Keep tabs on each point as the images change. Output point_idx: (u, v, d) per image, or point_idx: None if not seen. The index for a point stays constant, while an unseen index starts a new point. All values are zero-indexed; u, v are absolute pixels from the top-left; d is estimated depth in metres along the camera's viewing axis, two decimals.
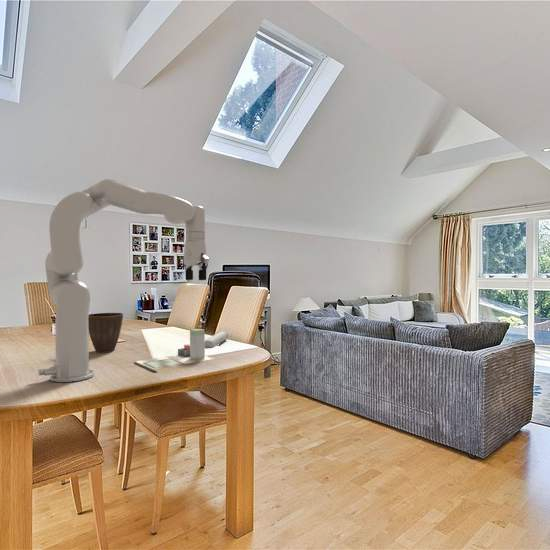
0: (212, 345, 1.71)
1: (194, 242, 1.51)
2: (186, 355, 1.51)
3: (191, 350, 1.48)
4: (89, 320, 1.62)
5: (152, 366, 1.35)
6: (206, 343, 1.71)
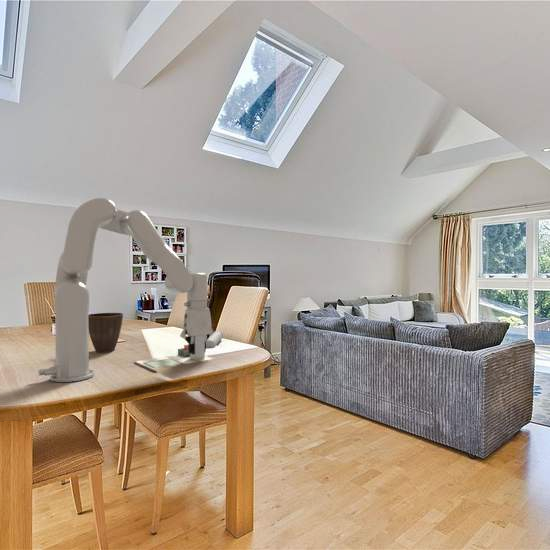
0: (214, 345, 1.71)
1: (207, 311, 1.48)
2: (186, 355, 1.51)
3: None
4: (89, 320, 1.62)
5: (152, 366, 1.35)
6: (208, 343, 1.71)
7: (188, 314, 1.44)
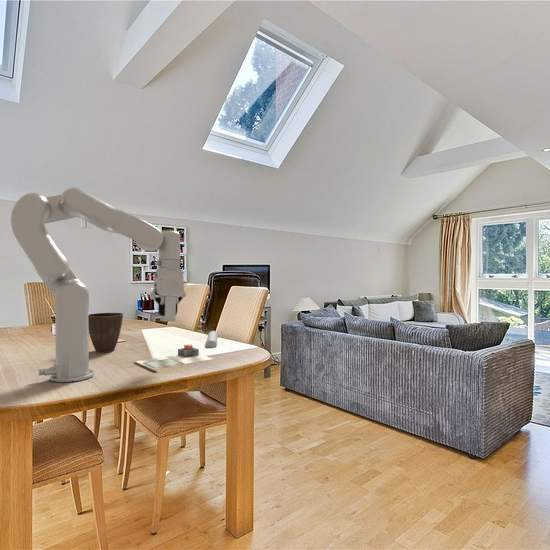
0: (215, 345, 1.72)
1: (179, 272, 1.42)
2: (186, 355, 1.51)
3: None
4: (89, 320, 1.62)
5: (152, 366, 1.35)
6: (209, 343, 1.71)
7: (158, 273, 1.37)
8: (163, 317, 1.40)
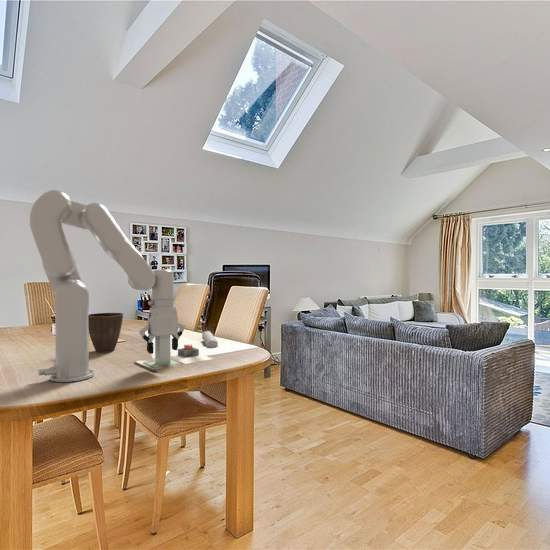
0: (217, 345, 1.72)
1: (173, 310, 1.40)
2: (186, 355, 1.51)
3: (156, 354, 1.40)
4: (89, 320, 1.62)
5: (152, 366, 1.35)
6: (211, 343, 1.71)
7: (152, 313, 1.36)
8: (158, 360, 1.38)
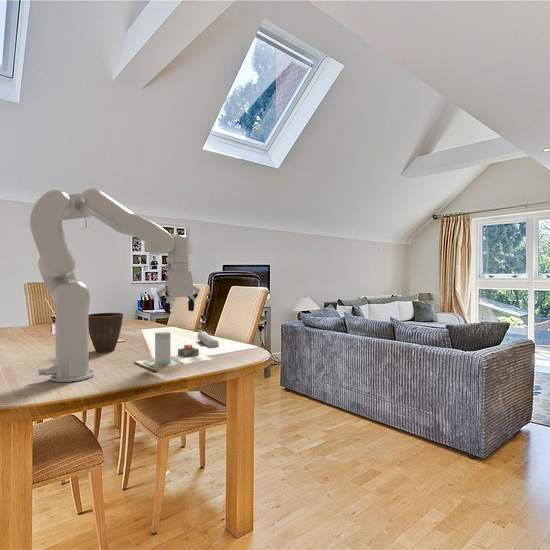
0: (218, 344, 1.73)
1: (188, 273, 1.49)
2: (186, 355, 1.51)
3: (156, 354, 1.40)
4: (89, 320, 1.62)
5: (152, 366, 1.35)
6: (213, 343, 1.71)
7: (169, 276, 1.44)
8: (158, 360, 1.38)
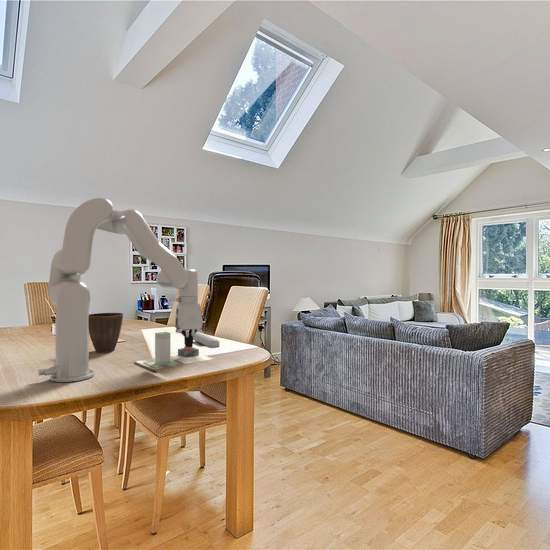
0: (219, 344, 1.73)
1: (198, 306, 1.55)
2: (186, 355, 1.51)
3: (156, 354, 1.40)
4: (89, 320, 1.62)
5: (152, 366, 1.35)
6: (214, 343, 1.71)
7: (179, 309, 1.50)
8: (158, 360, 1.38)
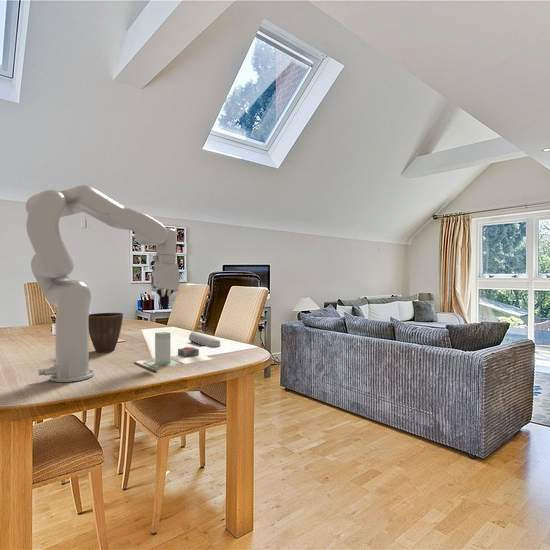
0: None
1: (175, 266, 1.52)
2: (186, 355, 1.51)
3: (156, 354, 1.40)
4: (89, 320, 1.62)
5: (152, 366, 1.35)
6: (216, 343, 1.72)
7: (156, 267, 1.48)
8: (158, 360, 1.38)
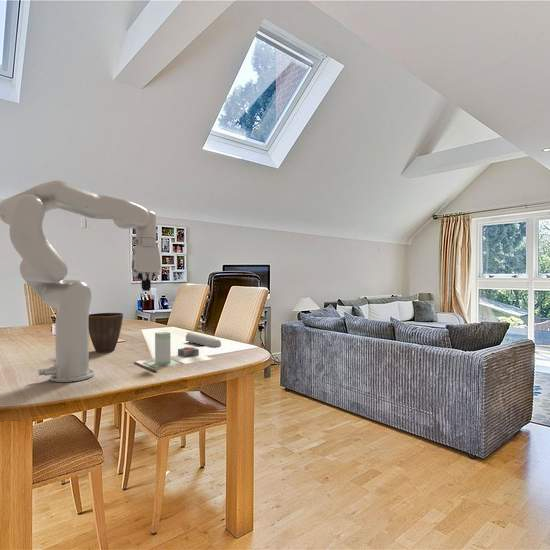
0: (220, 344, 1.74)
1: (156, 249, 1.50)
2: (186, 355, 1.51)
3: (156, 354, 1.40)
4: (89, 320, 1.62)
5: (152, 366, 1.35)
6: (217, 342, 1.72)
7: (135, 250, 1.46)
8: (158, 360, 1.38)
